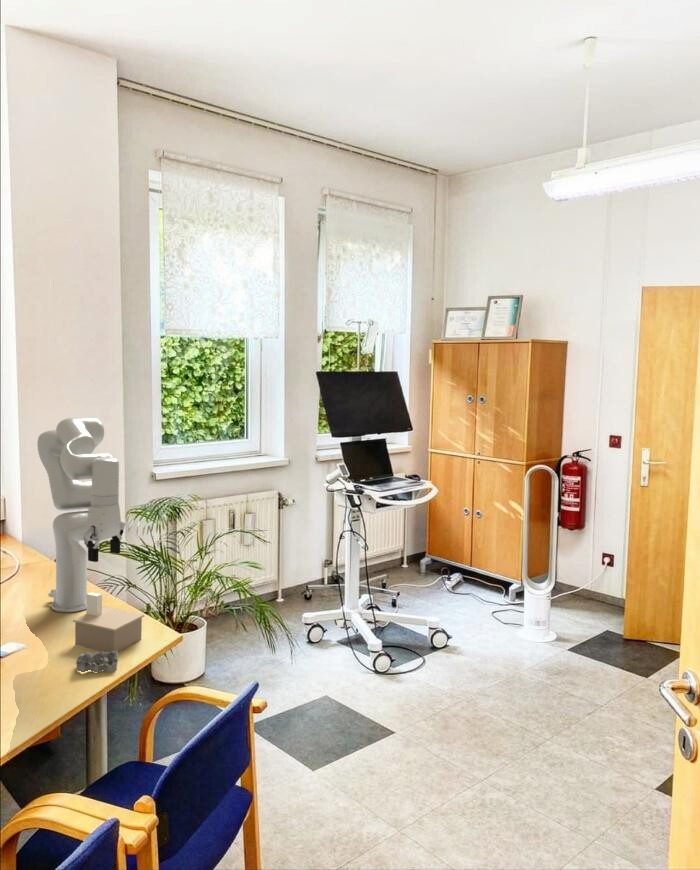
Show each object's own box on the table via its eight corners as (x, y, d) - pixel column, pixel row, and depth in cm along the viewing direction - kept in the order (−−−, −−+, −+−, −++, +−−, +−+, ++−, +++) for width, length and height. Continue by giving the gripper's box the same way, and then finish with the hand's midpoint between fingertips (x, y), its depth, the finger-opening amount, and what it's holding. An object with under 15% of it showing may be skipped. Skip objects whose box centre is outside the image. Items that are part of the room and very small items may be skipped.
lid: (72, 621, 205) (72, 599, 204) (103, 607, 217) (104, 586, 216) (114, 631, 199) (114, 608, 198) (144, 616, 211) (144, 595, 210)
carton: (75, 644, 206) (75, 622, 205) (103, 630, 217) (104, 609, 216) (114, 654, 200) (114, 631, 200) (141, 639, 212) (141, 617, 211)
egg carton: (74, 676, 187) (74, 661, 186) (78, 663, 194) (78, 649, 194) (116, 673, 189) (116, 659, 189) (119, 661, 196) (119, 647, 196)
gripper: (113, 493, 216) (113, 548, 218) (73, 503, 200) (73, 562, 202) (134, 496, 214) (133, 551, 216) (95, 507, 197) (94, 566, 199)
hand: (104, 556), depth 209 cm, fingers open, 9 cm apart
